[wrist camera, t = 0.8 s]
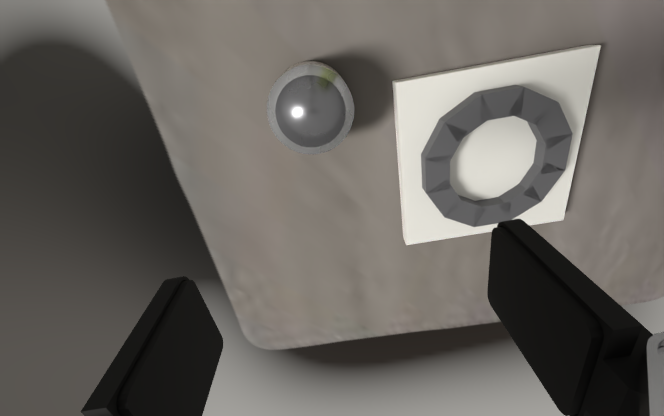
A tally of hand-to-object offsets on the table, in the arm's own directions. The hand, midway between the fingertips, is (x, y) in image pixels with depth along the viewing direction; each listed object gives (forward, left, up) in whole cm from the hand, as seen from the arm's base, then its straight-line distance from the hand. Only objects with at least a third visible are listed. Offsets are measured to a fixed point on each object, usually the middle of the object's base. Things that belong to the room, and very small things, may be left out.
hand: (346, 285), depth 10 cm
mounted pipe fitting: (+4, +13, -19) cm, 23 cm away
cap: (-3, -1, -19) cm, 19 cm away
